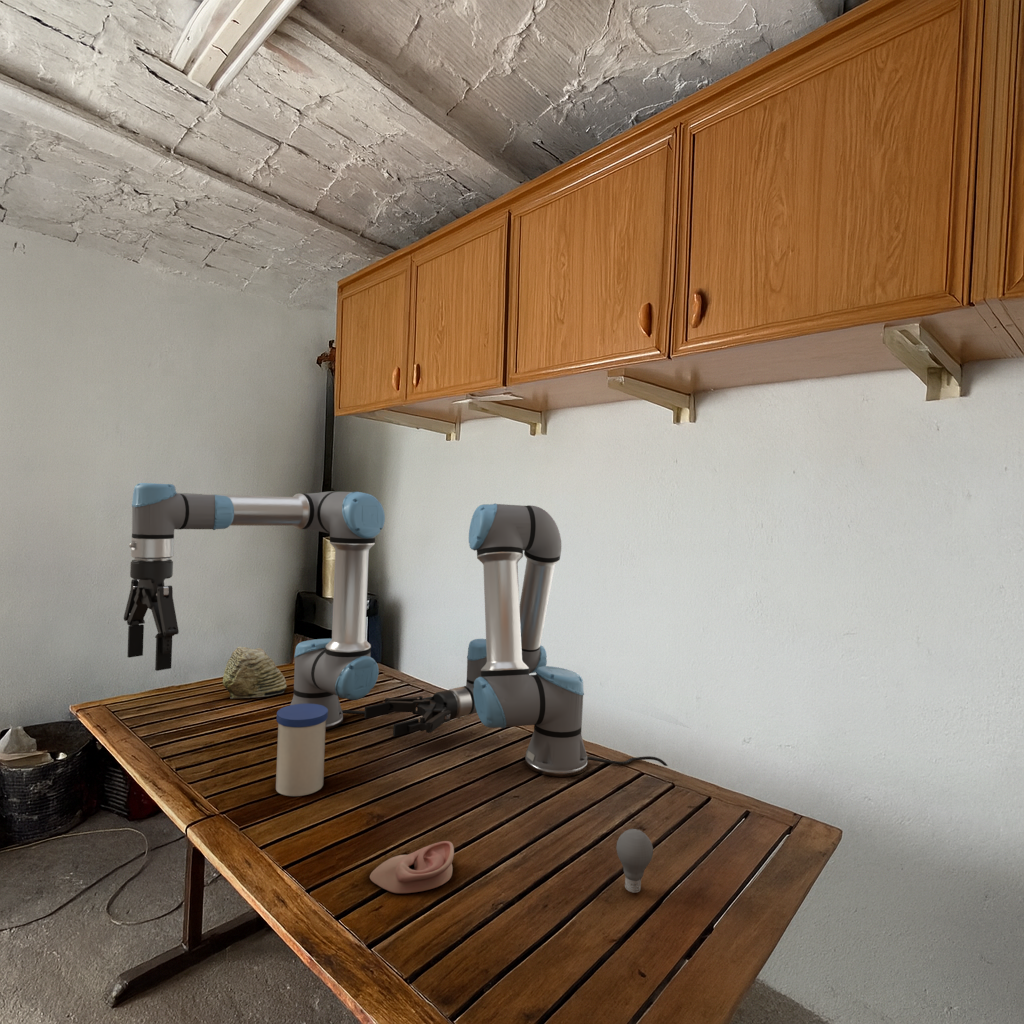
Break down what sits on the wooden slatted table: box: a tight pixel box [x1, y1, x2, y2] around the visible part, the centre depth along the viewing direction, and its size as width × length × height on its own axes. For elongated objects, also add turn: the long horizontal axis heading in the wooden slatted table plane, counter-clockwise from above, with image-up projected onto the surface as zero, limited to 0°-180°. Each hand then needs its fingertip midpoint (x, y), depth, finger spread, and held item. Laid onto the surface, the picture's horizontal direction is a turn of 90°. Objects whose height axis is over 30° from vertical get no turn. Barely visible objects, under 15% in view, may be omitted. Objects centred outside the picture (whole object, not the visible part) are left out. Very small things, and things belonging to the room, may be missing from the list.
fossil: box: [222, 646, 288, 699], centre depth 198 cm, size 9×18×15 cm, turn 132°
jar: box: [275, 721, 327, 797], centre depth 138 cm, size 10×10×16 cm
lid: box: [276, 704, 328, 727], centre depth 138 cm, size 11×11×2 cm
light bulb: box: [615, 828, 654, 894], centre depth 106 cm, size 6×6×10 cm
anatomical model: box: [369, 840, 455, 894], centre depth 107 cm, size 13×4×12 cm
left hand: (148, 662), depth 129 cm, fingers open, 13 cm apart
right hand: (379, 721), depth 153 cm, fingers open, 13 cm apart
